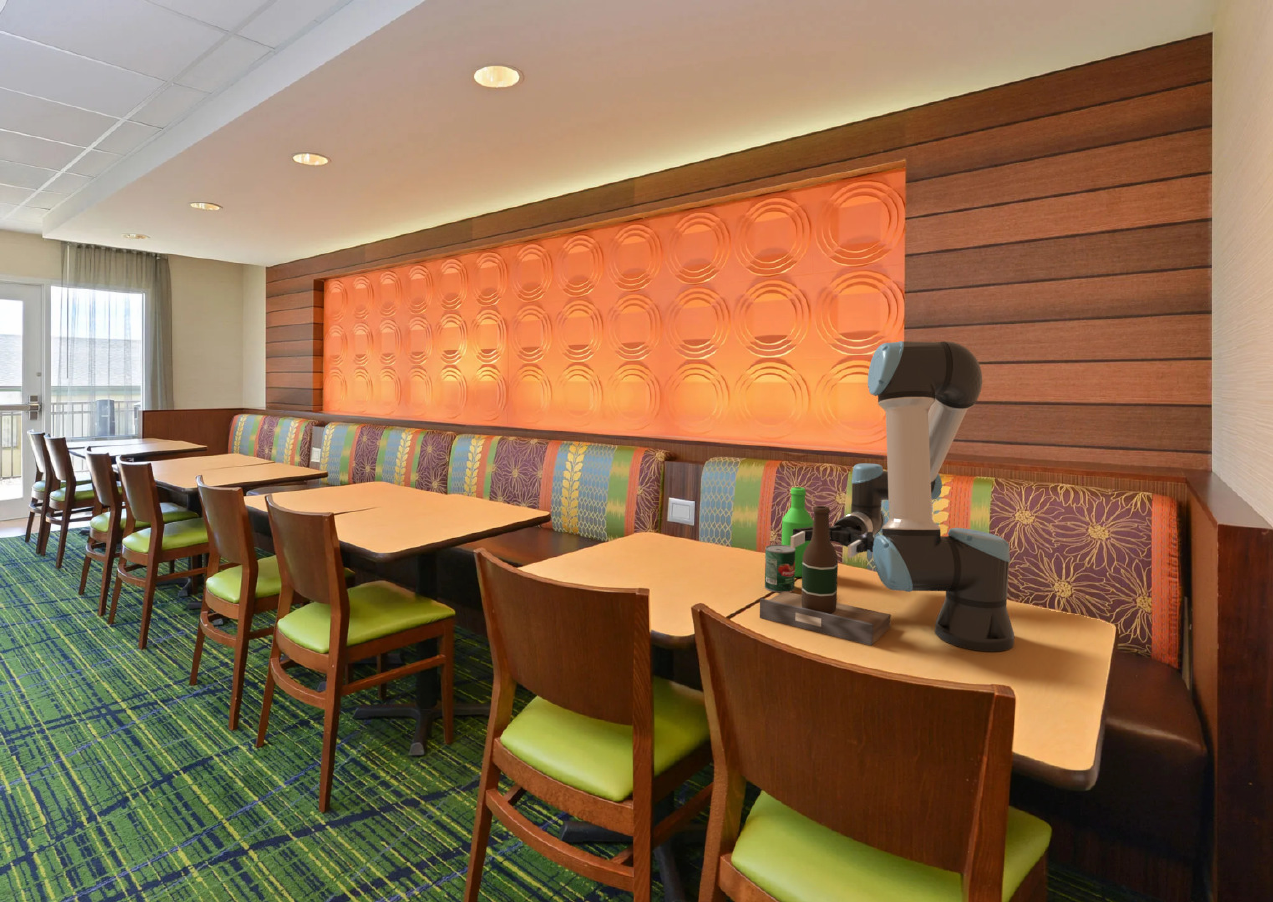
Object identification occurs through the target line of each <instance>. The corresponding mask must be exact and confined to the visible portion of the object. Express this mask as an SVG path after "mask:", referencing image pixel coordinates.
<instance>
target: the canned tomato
mask: <svg viewBox="0 0 1273 902" xmlns="http://www.w3.org/2000/svg"><path fill="white" fill-rule="evenodd" d="M795 550H796V549H795V548H791V546H787V545H782V544H768V545H766V546H765V555H764V556H765V560H764V561H765V562H764V589H765V590H767V591H769V592H772V593H773V592H774V593H778V594H780V593H782V592H784V591H785V592H790V593H793V591H795V580H796V579H795V578H796V577H795Z"/></svg>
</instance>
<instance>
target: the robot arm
mask: <svg viewBox="0 0 1273 902" xmlns="http://www.w3.org/2000/svg"><path fill="white" fill-rule="evenodd" d="M870 360H871V361H870V365H869V368H868V374H867V387H868V392H869V394H870V395H872V396H875V397H877V405H878V406H879V407H880V408H881V409H883V410H884V411H885V428H886V431H885V433H886V461H887V465H886V466H887V471H884V469H883V468H884V467H883V465H881V464H877V463H869V462H868V463H867V462H864V463H857V464H855V465H854V466H853V469H852V473H851V474H852V475H851V476H852V477H851V504H850V508H851V509H850V513H849V514H847V515H845V516H843V517H840V518H839V519H838V520H837V521H836V522H835V523H834V525H833V526H829V534H830V542H831V543H832V542H835V543H838V544H840V545H842V546H843V547H847V559H848V558H849V559H852V558H853V557H855V556H856V555H858V554H860V553H866V552H868V551H870V552H871V553H872V557H873V563H874V566H875V567H874V568H875V571H876V573H877V576H878V577H879V579H880V582H881V583H882V584H883V586H885V587H886V588H887V589H888V590H891V591H901V592H907V593H911V592H945V596H944V597H945V598H944V602H942V603H943V604H942V606H941V608H940V611H939V613H938V615H937V617H936V620H935V625H934V632H935V633H934V634H935V635H936V636H937V637H938V638H940V640H942V641H945V642H946V643H948V644H951V645H954V646H957V647H960V648H963V649H968V650H973V651H978V652H979V651H980V652H1002V651H1007V650H1008V651H1009V650H1010V649H1012V647H1014V645H1015V632H1014V628H1013V626H1012V621H1011V619H1010V616H1009V612H1008V610H1007V609H1008V608H1007V601H1008V600H1007V599H1008V590H1009V589H1008V586H1009V573H1010V572H1009V571H1010V570H1009V568H1010V563H1011V557H1010V545H1009V543H1008V541H1007V540H1006V539H1004V538H1003V537H1001V536H998V535H995V534H993V533H990V532H989V533H988V532H986V531H981V530H977V529H970V528H965V527H964V528H962V527H952V528H951V527H950V528H949V530H948V532H947V535H948V536H945V535H944V536H941V533H942V532H941V527H940V526H939V525H938V524H937V523H936V522H935V521H934V520H933V508H932V506H933V505H932V504H933V503H932V500H933V501H934V500H937V499H938V498H939V497H940V496H941V494H942V488H943V483H942V477H941V476H940V474H939V472H940V469H941V467H942V466H943V463H944V461H945V459H946V457H947V455H948V453H949V450H950V448H951V447H952V444H953V442H954V439H955V438H956V436H957V433H958V431H959V429H960V426H961V424H962V422H963V419H964V417H965V416H966V413H967V411H968V409H970V408H973V407H974V406H975V405H976V403H977V402H978V398H979V397H980V395H981V392H982V386H983V372H982V369H981V365H980V363H979V361H978V358H977V357H976V356H975V354H973V352H972V351H970V350H969V349H968V348H967V347H966V346H963V345H962V344H960V343H958V342H957V343H956V342H953V341H903V340H901V341H900V340H899V341H895V342H884V343H882V344H880V345H879V346H878V347H877V348H876V350H875V351H874V353H873V355H872V358H871V359H870ZM882 501H888V521H887V522H886V517H885V515H884V513H883V510H882ZM880 531H881V533H882V534H879V533H880ZM812 532H813V527H805V528H797V529H793V536H791V548H795V547H797V546H799V545H801V544H803V543H805V541H811V538H812ZM877 534H879V535H877ZM876 535H877V536H876ZM874 536H875V538H874Z"/></svg>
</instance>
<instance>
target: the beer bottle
mask: <svg viewBox="0 0 1273 902" xmlns="http://www.w3.org/2000/svg"><path fill="white" fill-rule="evenodd" d="M812 512H813V532H812V538H811V542H810V543H809V545H808V546H807V547H806V549H805V552H804V554H803V563H802V577H801V595H802V608H806V609H810V610H815V611H819V612H823V613H828V614H832V613H833V612H834V611H835V610H836V603H838V602H837V601H838V600H837V599H838V575H839V573H838V569H839V562H838V554H837V551H836V548H835V547H834V545H833V543H832V541H831V542H830V534H829V527H830V515H829V514H830V513H831V509H830V507H828V506H824V505H817V506H814V507H813V509H812Z"/></svg>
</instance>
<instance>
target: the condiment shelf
mask: <svg viewBox="0 0 1273 902" xmlns="http://www.w3.org/2000/svg"><path fill="white" fill-rule="evenodd" d="M891 616H892V615H891V614H890V613H885V612H881V611H876V610H874V609H873V610H871V609H869V608H868V609H867V608H863V607H858V606H854V605H849V604H844V603H839V602H837V603H836V610H835V611H834V612H833V613H832V614H828V613H823V612H819V611H815V610H810V609H806V608H802V594H798V593H795V592H785V591H784V592H782V593H778V594H777V595H775V596H773V597H772V598H770V599H767V598H762V597H761V598H760V599H759V618H760V619H763V620H767V621H770V622H771V621H772V622H775V623H779V624H783V625H787V626H792V627H794V628H795V627H796V628H798V629H803V630H808V631H811V632H814V633H815V632H816V633H819V634H823V635H827V636H831V637H835V638H839V639H843V640H847V641H851V642H856V643H860V644H863V645H868V646H872V645H873V644H875V643H876V642H877V641H878V640H879V639H880V637H882V636H883V635H884V634H885V633H886V632H887V631H888V630H889V629H891V619H892V618H891Z"/></svg>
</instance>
